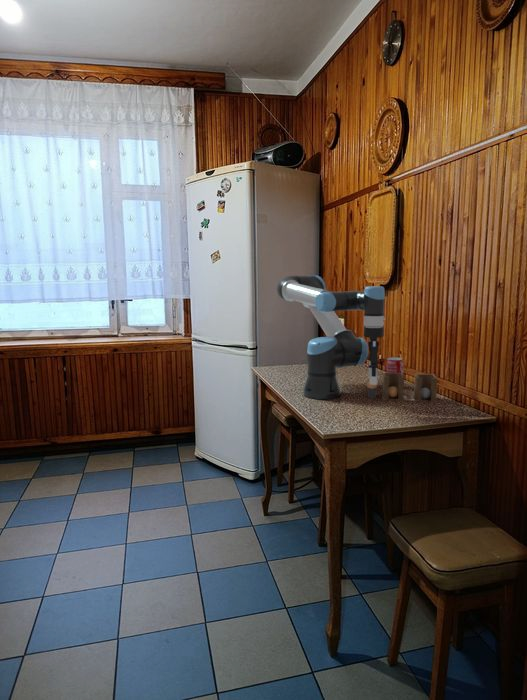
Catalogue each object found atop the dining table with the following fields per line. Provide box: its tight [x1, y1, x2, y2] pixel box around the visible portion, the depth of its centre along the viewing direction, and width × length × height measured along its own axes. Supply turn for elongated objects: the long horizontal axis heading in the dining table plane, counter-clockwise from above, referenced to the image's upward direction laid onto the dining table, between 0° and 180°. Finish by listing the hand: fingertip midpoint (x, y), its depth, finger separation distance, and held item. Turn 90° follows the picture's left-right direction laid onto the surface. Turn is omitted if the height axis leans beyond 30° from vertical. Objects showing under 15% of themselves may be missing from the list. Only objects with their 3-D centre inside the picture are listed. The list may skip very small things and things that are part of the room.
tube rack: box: [381, 372, 438, 403], centre depth 181 cm, size 20×7×10 cm, turn 79°
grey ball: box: [421, 388, 431, 399], centre depth 180 cm, size 4×4×4 cm
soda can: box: [385, 356, 404, 375], centre depth 201 cm, size 7×7×13 cm
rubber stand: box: [367, 387, 377, 399], centre depth 184 cm, size 3×3×4 cm
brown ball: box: [365, 378, 379, 389], centre depth 184 cm, size 4×4×4 cm
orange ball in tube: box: [389, 386, 398, 398], centre depth 183 cm, size 4×4×4 cm
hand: (372, 380), depth 183 cm, fingers open, 13 cm apart
